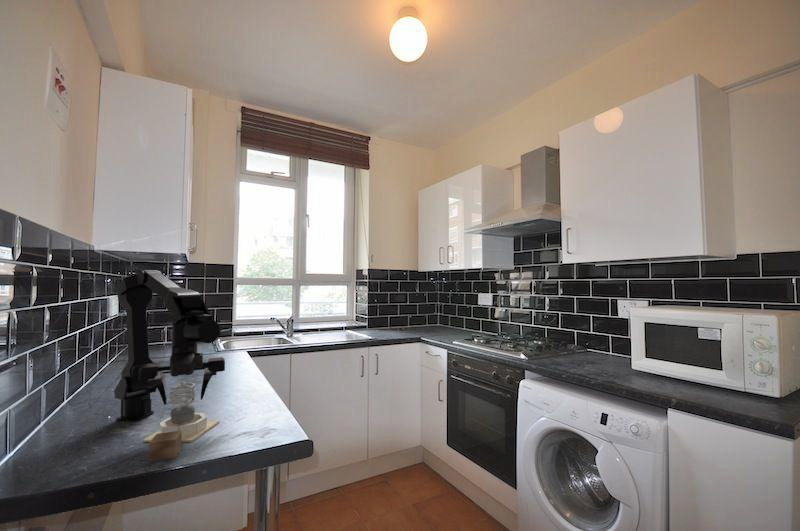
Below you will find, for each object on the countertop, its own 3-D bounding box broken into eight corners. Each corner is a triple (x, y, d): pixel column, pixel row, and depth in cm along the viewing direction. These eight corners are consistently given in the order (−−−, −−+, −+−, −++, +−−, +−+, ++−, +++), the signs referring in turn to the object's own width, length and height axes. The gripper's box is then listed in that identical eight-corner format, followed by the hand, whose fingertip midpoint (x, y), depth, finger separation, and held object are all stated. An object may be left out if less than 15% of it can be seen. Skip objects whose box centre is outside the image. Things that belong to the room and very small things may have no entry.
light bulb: (176, 426, 94) (177, 379, 95) (199, 425, 95) (199, 378, 95) (164, 435, 89) (165, 385, 89) (188, 433, 89) (189, 384, 90)
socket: (142, 441, 86) (143, 429, 86) (176, 422, 98) (176, 411, 98) (191, 442, 86) (191, 429, 86) (219, 422, 97) (219, 411, 98)
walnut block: (148, 462, 76) (148, 443, 77) (156, 451, 81) (156, 433, 81) (175, 458, 78) (175, 439, 78) (181, 448, 83) (181, 430, 83)
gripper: (134, 348, 82) (132, 419, 81) (225, 341, 90) (224, 405, 89) (143, 342, 91) (141, 404, 91) (224, 336, 100) (224, 393, 99)
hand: (183, 401), depth 92 cm, fingers open, 8 cm apart
